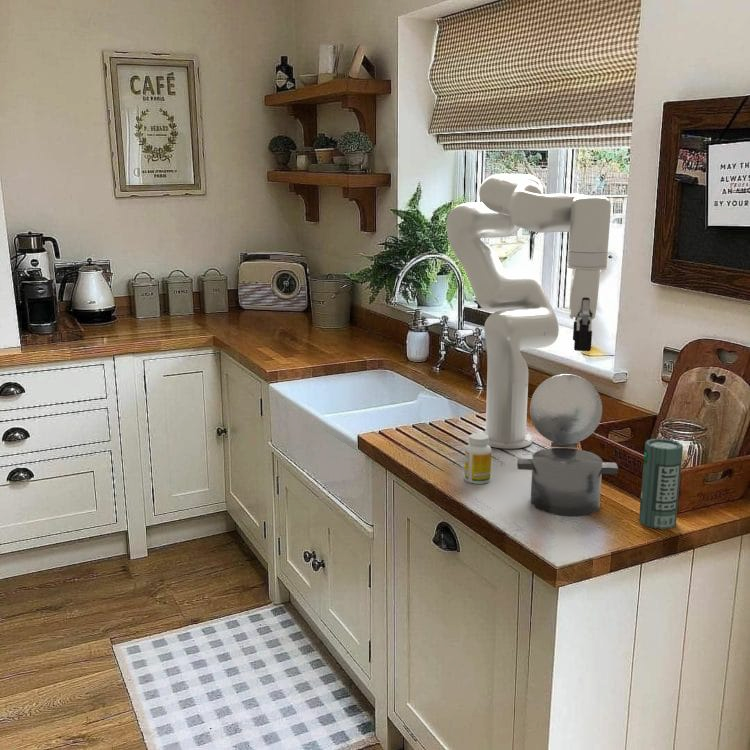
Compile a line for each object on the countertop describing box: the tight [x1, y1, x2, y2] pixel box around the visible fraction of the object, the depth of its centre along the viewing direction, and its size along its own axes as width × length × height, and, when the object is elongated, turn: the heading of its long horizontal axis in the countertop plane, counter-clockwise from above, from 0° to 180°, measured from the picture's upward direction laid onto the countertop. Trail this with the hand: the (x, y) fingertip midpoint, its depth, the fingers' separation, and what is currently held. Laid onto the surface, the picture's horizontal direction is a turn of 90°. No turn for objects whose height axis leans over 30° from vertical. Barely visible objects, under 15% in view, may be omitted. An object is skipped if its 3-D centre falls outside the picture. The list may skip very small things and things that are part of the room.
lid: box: [529, 373, 603, 449], centre depth 165 cm, size 15×14×2 cm
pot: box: [516, 447, 619, 517], centre depth 158 cm, size 13×19×9 cm
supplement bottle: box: [464, 432, 492, 485], centre depth 170 cm, size 5×5×10 cm
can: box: [638, 438, 684, 530], centre depth 149 cm, size 6×6×15 cm
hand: (581, 345), depth 167 cm, fingers open, 9 cm apart
